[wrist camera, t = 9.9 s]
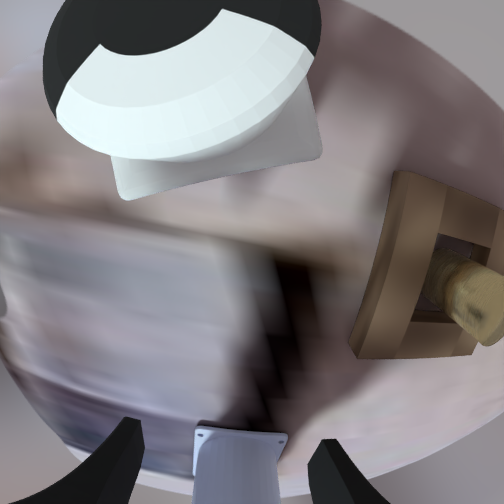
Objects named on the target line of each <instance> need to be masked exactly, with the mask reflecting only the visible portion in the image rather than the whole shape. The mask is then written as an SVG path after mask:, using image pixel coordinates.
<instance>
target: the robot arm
mask: <svg viewBox="0 0 504 504" xmlns="http://www.w3.org/2000/svg"><path fill="white" fill-rule="evenodd" d="M287 440H288V435H287V434H285V433H269V432H253V431H241V430H231V429H222V428H214V427H207V426H197V427H196V428H195V441H194V459H193V475H194V476H195V480H194V488H193V496H192V504H281V500H280V491H279V481H278V472H277V461H278V459H279V457H280V455H281V453H282V451H283V449H284V446H285V444H286V442H287ZM144 449H145V445H144V439H143V433H142V427H141V420H137V419H133V418H130V417H124V418H123V419H122V421H121V422H120V423H119V424H118V426H117V427H116V428H115V429H114V431H113V432H112V433H111V434H110V435H109V436H108V438H107V439H106V440H105V441H104V442H103V443H102V444H101V445H100V446H99V447H98V448H97V449H96V450H95V451H94V452H93V453H92V454H91V455H90V456H89V457H88V458H87V459H86V460H85V461H84V462H83V463H81V464H80V465H79V466H78V467H77V468H76V469H74V470H73V471H72V472H70V473H69V474H68V475H66V476H65V477H64V478H62V479H61V480H59V481H58V482H56V483H54V484H53V485H51V486H49V487H48V488H46V489H44V490H42V491H40V492H38V493H36V494H34V495H31V496H30V497H27V498H25V499H22V500H19V501H16V502H13V503H9V504H128V502H129V499H130V496H131V493H132V490H133V488H134V485H135V482H136V479H137V476H138V473H139V471H140V468H141V463H142V459H143V454H144ZM308 478H309V487H310V491H311V495H312V500H313V504H390V503H389V502H388V501H387V500H386V499H385V498H384V497H383V496H381V494H380V493H379V492H378V491H377V490H376V489H375V488H374V487H373V486H372V485H371V484H370V483H369V482H368V481H367V479H366V478H365V477H364V476H363V474H362V473H361V472H360V471H359V470H358V468H357V467H356V466H355V464H354V463H353V462H352V460H351V459H350V458H349V456H348V455H347V454H346V452H345V451H344V449H343V448H342V446H341V445H340V444H339V442H338V441H337V440H336V439H322V440H321V442H320V444H319V446H318V447H317V449H316V451H315V453H314V454H313V456H312V458H311V459H310V461H309V463H308Z"/></svg>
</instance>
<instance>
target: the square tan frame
mask: <svg viewBox="0 0 504 504" xmlns="http://www.w3.org/2000/svg"><path fill="white" fill-rule="evenodd" d="M438 233H440V234H444V235H447V236H451V237H454V238H458V239H461V240H465V241H468V242H472V243H474V246H473V250H472V254H471V257H470V259H471V260H473V261H475V262H477V263H479V264H481V265H483V266H485V267H487V268H489V269H491V270H493V271H495V272H497V273H498V274H500V275H502V276H504V210H502V209H500V208H498V207H496V206H494V205H492V204H490V203H488V202H485V201H483V200H481V199H479V198H477V197H474V196H472V195H470V194H467V193H465V192H463V191H460V190H458V189H456V188H453V187H451V186H448V185H446V184H443V183H440V182H438V181H435V180H433V179H430V178H427V177H424V176H422V175H419V174H416V173H413V172H409V171H394V174H393V180H392V185H391V191H390V196H389V201H388V206H387V210H386V215H385V220H384V224H383V228H382V233H381V237H380V241H379V245H378V249H377V253H376V256H375V260H374V264H373V267H372V271H371V275H370V278H369V281H368V285H367V288H366V291H365V295H364V298H363V301H362V304H361V307H360V310H359V313H358V316H357V319H356V322H355V325H354V328H353V331H352V334H351V336H350V339H349V342H348V343H349V345H350V347H351V349H352V350H353V352H354V354H355V356H356V358H357V359H417V358H438V357H453V356H465V355H472V353H473V351H474V349H475V347H476V345H477V343H478V341H477V340H476V339H475V338H474V337H473V336H472V335H470V334H469V333H468V332H467V331H466V330H465V329H463V328H462V327H461V326H460V325H459V324H458V323H456V322H455V321H454V320H453V319H452V318H450V317H449V316H448V315H447V314H446V313H444V312H434V311H421V310H414V309H415V306H416V304H417V301H418V298H419V295H420V292H421V289H422V286H423V283H424V280H425V277H426V274H427V270H428V267H429V264H430V260H431V257H432V253H433V250H434V246H435V242H436V238H437V234H438Z"/></svg>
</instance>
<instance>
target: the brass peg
mask: <svg viewBox="0 0 504 504" xmlns="http://www.w3.org/2000/svg"><path fill="white" fill-rule="evenodd" d="M421 293H422V294H423V295H424V296H425V297H426V298H427V299H428V300H430V301H431V302H432V303H433V304H435V305H436V306H437V307H438V308H440V309H441V310H442V311H443V312H444V313H446V314H447V315H448V316H449V317H450V318H452V319H453V320H454V321H455V322H456V323H458V324H459V325H460V326H461V327H462V328H463V329H465V330H466V331H467V332H468V333H469V334H470V335H472V336H473V337H474V338H475V339H476V340H477V341H478V342H479V343H481V344H482V345H483V346H491V345H493V344H495V343H496V342H498V341H499V340H500V339H501V338H502V337H503V336H504V276H502V275H500V274H498V273H497V272H495V271H493V270H491V269H489V268H487V267H485V266H483V265H481V264H479V263H477V262H475V261H473V260H471V259H469V258H467V257H465V256H463V255H461V254H459V253H457V252H455V251H453V250H450V249H448V248H440V249H437V250H436V251H434V252H433V253H432V257H431V260H430V264H429V267H428V270H427V274H426V277H425V280H424V283H423V286H422V289H421Z"/></svg>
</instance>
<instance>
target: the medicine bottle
mask: <svg viewBox="0 0 504 504" xmlns="http://www.w3.org/2000/svg"><path fill="white" fill-rule="evenodd" d="M320 34H321V14H320V7H319V4H318V1H317V0H66V1H65V2H64V3H63V5H62V7H61V9H60V10H59V12H58V13H57V15H56V17H55V19H54V21H53V23H52V26H51V28H50V31H49V34H48V37H47V40H46V43H45V49H44V55H43V84H44V90H45V95H46V98H47V101H48V104H49V107H50V109H51V111H52V112H53V114H54V116H55V118H56V119H57V121H58V122H59V123H60V124H61V126H62V127H63V128H64V129H65V130H66V132H68V133H69V134H70V135H71V136H73V137H74V138H75V139H76V140H78V141H79V142H81V143H82V144H84V145H86V146H88V147H90V148H92V149H93V150H96V151H99V152H102V153H105V154H108V155H111V160H112V165H113V170H114V175H115V180H116V184H117V189H118V193H119V195H120V197H121V198H123V199H124V200H134V199H137V198H141V197H145V196H148V195H152V194H155V193H159V192H163V191H167V190H171V189H174V188H178V187H182V186H186V185H190V184H195V183H199V182H203V181H207V180H212V179H216V178H221V177H225V176H230V175H235V174H239V173H244V172H249V171H254V170H259V169H265V168H270V167H276V166H281V165H287V164H293V163H299V162H305V161H312V160H315V159H318V158H319V157H320V156H321V154H322V148H323V147H322V142H321V137H320V133H319V128H318V123H317V119H316V114H315V110H314V105H313V101H312V97H311V93H310V89H309V85H308V81H307V77H306V74H307V72H308V70H309V68H310V66H311V64H312V62H313V60H314V58H315V55H316V52H317V49H318V45H319V42H320Z"/></svg>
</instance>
